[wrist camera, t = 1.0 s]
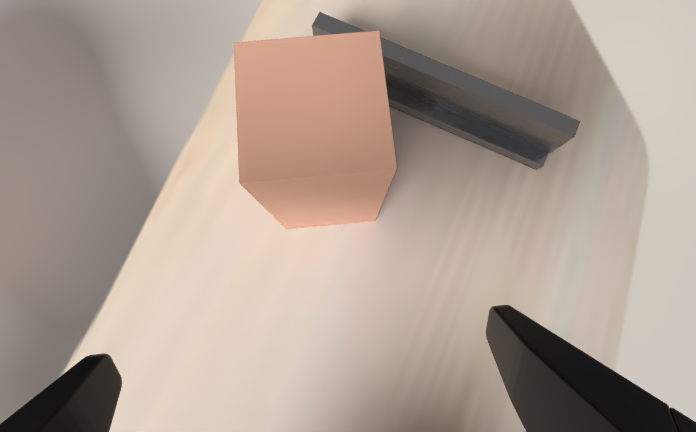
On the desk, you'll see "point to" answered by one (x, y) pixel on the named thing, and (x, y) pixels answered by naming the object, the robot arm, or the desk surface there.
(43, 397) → the robot arm
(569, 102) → the desk surface
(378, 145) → the carton
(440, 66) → the rail
